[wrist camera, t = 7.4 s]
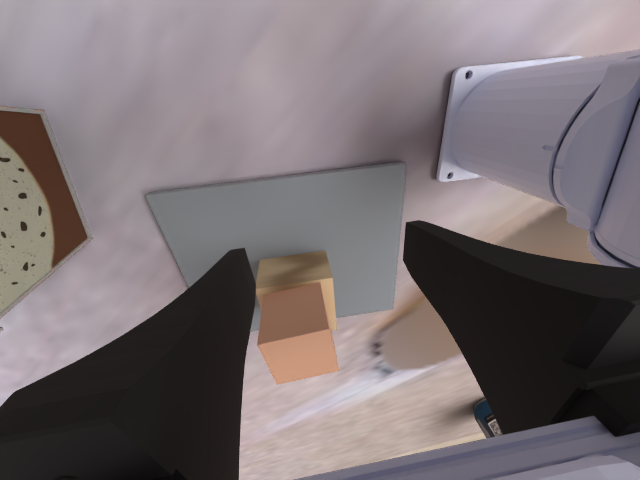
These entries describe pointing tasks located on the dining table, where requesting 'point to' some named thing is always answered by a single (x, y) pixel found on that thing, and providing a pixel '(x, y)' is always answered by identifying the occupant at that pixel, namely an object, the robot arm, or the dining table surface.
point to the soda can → (486, 419)
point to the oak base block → (297, 277)
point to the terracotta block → (296, 334)
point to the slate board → (295, 227)
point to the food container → (34, 206)
